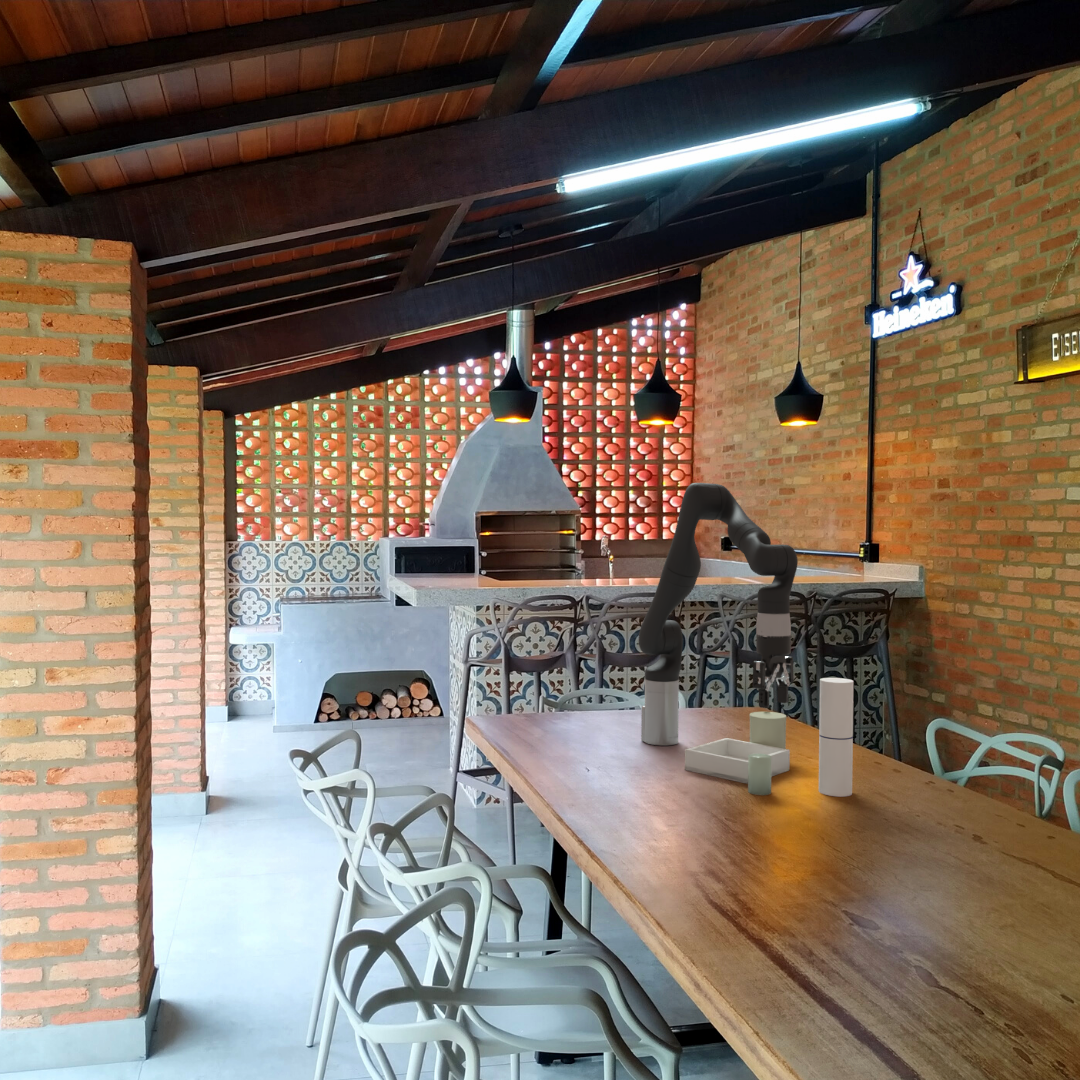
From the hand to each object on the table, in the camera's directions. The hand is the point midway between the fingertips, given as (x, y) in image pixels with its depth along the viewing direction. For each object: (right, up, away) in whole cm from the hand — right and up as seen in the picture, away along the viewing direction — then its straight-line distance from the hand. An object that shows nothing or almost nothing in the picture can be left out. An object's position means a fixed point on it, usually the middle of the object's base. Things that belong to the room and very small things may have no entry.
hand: (773, 705), depth 218 cm
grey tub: (-5, -19, +17) cm, 25 cm away
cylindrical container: (+13, -19, -2) cm, 23 cm away
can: (+5, -19, +27) cm, 33 cm away
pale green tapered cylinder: (-4, -19, -3) cm, 19 cm away
